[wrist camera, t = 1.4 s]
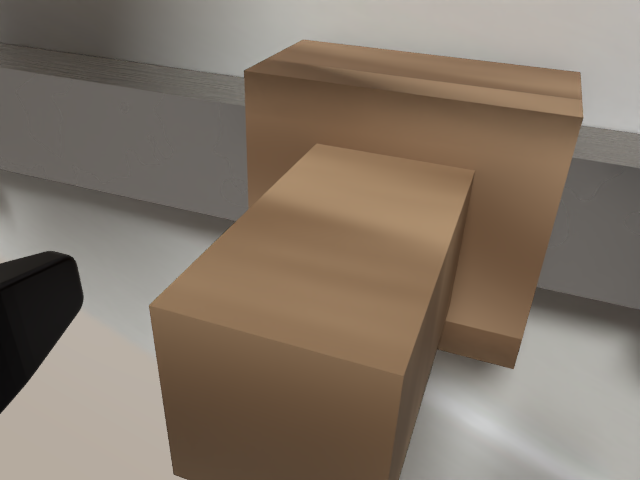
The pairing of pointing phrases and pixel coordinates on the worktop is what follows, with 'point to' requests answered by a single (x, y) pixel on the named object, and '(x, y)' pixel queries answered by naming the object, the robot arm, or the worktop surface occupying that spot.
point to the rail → (231, 156)
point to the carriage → (361, 257)
